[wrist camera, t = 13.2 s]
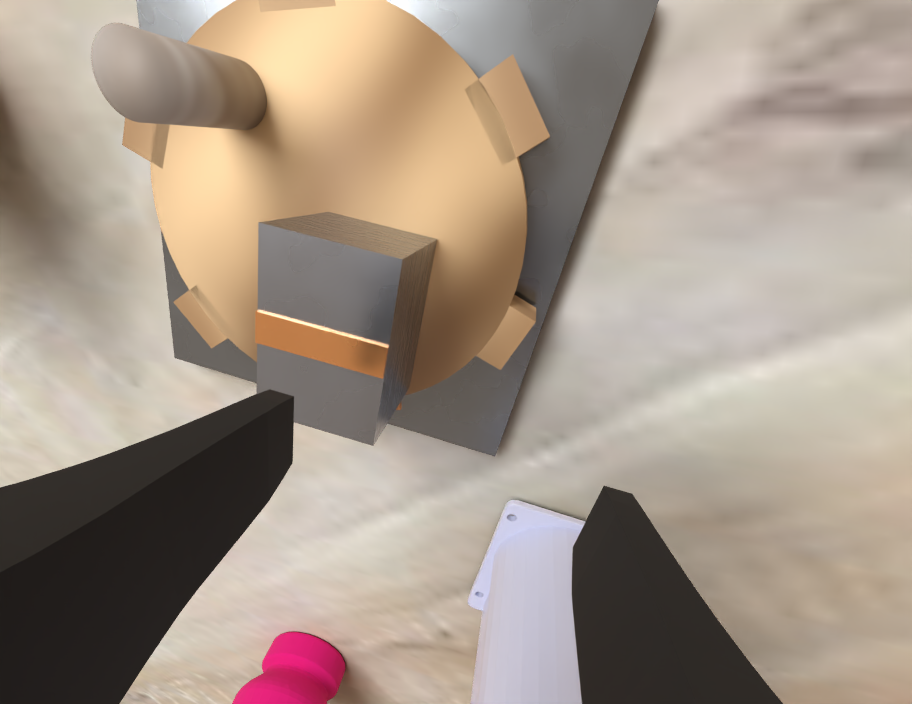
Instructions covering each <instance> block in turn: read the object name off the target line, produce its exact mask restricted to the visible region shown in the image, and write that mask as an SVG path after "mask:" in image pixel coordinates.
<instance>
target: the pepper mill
mask: <svg viewBox="0 0 912 704" xmlns="http://www.w3.org/2000/svg"><path fill="white" fill-rule="evenodd" d="M262 669H263V672H264V673H263V674H261V675H259V676H258V677H256V678H254V679H252V680H251V681H249V682H248V683H247V684H245V685H244V686H243V687H242V688H241V689H240V690H239V692H238V693H237V695H236V697H235V699H234V701H233V703H232V704H327V701H328V700H330V699H331V698H333V697H334V696H335V695H336V693H337V691H338V688H339V686H340V683H341V680H342V678H343V675H344V672H345V662H344V660H343V658H342V656H341V655H340V653H339V652H338V651H337V650H336V649H335V648H334V647H332V646H331V645H330V644H328V643H327V642H325V641H323V640H321V639H320V638H317V637H315V636H312V635H309V634H305V633H300V632H287V633H283V634H280V635H279V636H278V637H276V638H275V640H274V641H273V643H272V645H271V647H270V649H269V650H268V652H267V654H266V656H265V658H264V660H263V662H262Z"/></svg>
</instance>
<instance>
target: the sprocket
mask: <svg viewBox="0 0 912 704" xmlns="http://www.w3.org/2000/svg"><path fill="white" fill-rule="evenodd" d="M91 61H92V68H93V72H94V76H95V79H96V81H97V84H98V86H99V88H100V90H101V92H102V94H103V95H104V97H105V98H106V100H107V101H108V102H109V103H110V105H111V106H112V107H113V108H114V109H115V110H116V111H117V112H119V113H120V114H121V115H123V116H124V117H125V125H124V134H123V143H122V145H123V146H125V147H127V148H128V149H130V150H132V151H133V152H135V153H137V154H138V155H140V156H142V157H143V158H145V159H147V160H149V161H150V162H151V182H152V188H153V195H154V202H155V207H156V211H157V215H158V219H159V223H160V226H161V230H162V233H163V236H164V238H165V241H166V244H167V247H168V249H169V252H170V254H171V257H172V259H173V261H174V263H175V265H176V267H177V269H178V271H179V273H180V275H181V277H182V279H183V280H184V282H185V284H186V285H187V287H188V289H189V291H187V292H186V293H185V294H183V295H182V296H181V297H179V298H178V299H176V300H175V301H174V304H175V305H176V306H177V307H178V308H179V310H180V311H181V312H182V313H183V315H184V316H185V317H186V318H187V319H188V321H189V322H190V323H191V324H192V325H193V327H194V328H195V329H196V330H197V332H198V333H199V334H200V335H201V336H202V338H203V339H204V340H205V341H206V342H207V344H208V345H209V346H210V347H211V348H213V347H215V346H216V345H218V344H220V343H221V342H223V341H225V340H226V339H229V340H230V341H232V342H233V343H234V344H235V345H236V346H237V347H238V348H239V349H240V350H242V351H243V352H244V353H245V354H247V355H248V356H249V357H251V358H252V359H253V360H254V361H256V362H257V343H255V311H257V310H258V222H264V221H271V220H277V219H284V218H290V217H297V216H304V215H310V214H317V213H324V212H332V213H336V214H340V215H344V216H347V217H351V218H355V219H359V220H363V221H367V222H371V223H375V224H379V225H383V226H387V227H391V228H395V229H399V230H403V231H407V232H411V233H415V234H419V235H423V236H427V237H431V238H435V239H437V244H436V249H435V255H434V260H433V265H432V271H431V276H430V281H429V286H428V292H427V297H426V302H425V308H424V313H423V318H422V324H421V329H420V334H419V339H418V345H417V350H416V355H415V361H414V366H413V371H412V377H411V382H410V387H409V389H408V391H407V392H406V394H405V395H408V394H412V393H415V392H418V391H421V390H424V389H426V388H429V387H431V386H433V385H435V384H437V383H439V382H441V381H443V380H445V379H447V378H449V377H450V376H451V375H453V374H454V373H456V372H457V371H458V370H460V369H461V368H463V367H464V366H465V365H466V364H467V363H468V362H470V361H471V360H472V359H473V358H474V357H475V356H477V357H479V358H481V359H482V360H484V361H486V362H487V363H489V364H491V365H493V366H494V367H496V368H498V369H499V370H501V369H502V367H503V366H504V365H505V363H506V362H507V361H508V359H509V358H510V356H511V355H512V354H513V352H514V351H515V350H516V348H517V347H518V346H519V344H520V343H521V341H522V340H523V339H524V337H525V336H526V335H527V333H528V332H529V331H530V329H531V328H532V326H533V325H534V324H535V322H536V307H534V306H532V305H531V304H529V303H527V302H526V301H524V300H522V299H521V298H519V297H518V296H516V295H514V294H515V291H516V288H517V284H518V281H519V277H520V273H521V269H522V265H523V259H524V253H525V245H526V237H527V198H526V190H525V182H524V175H523V171H522V168H521V164H520V160H519V156H521V155H523V154H524V153H526V152H527V151H529V150H531V149H532V148H534V147H535V146H537V145H539V144H540V143H542V142H543V141H545V140H547V139H548V138H550V135H549V133H548V131H547V128H546V126H545V124H544V122H543V120H542V117H541V115H540V113H539V111H538V108H537V106H536V104H535V102H534V100H533V97H532V95H531V93H530V91H529V88H528V86H527V84H526V82H525V80H524V77H523V75H522V73H521V71H520V69H519V66H518V64H517V62H516V60H515V57H514V55H513V54H512V55H511V56H509V57H508V58H507V59H505V60H504V61H503V62H501V63H500V64H498V65H497V66H496V67H494V68H493V69H492V70H490V71H489V72H487V73H486V74H485V75H483V76H482V77H481V78H478V77H477V75H476V74H475V73H474V71H473V70H472V69H471V68H470V66H469V65H468V64H467V63H466V62H465V61H464V59H463V58H462V57H461V56H460V55H459V54H458V53H457V52H456V51H455V50H454V49H453V48H452V47H451V46H450V45H449V44H448V43H447V42H446V41H445V40H444V39H443V38H442V37H441V36H440V35H438V34H437V33H436V32H435V31H433V30H432V29H431V28H429V27H428V26H427V25H425V24H424V23H423V22H421V21H420V20H419V19H418V18H416V17H415V16H414V15H412V14H410V13H408V12H406V11H405V10H403V9H401V8H399V7H397V6H396V5H394V4H392V3H390V2H388V1H387V0H236V1H234V2H232V3H231V4H229V5H228V6H226V7H224V8H223V9H221V10H220V11H218V12H216V13H215V14H214V15H213V16H212V17H211V18H210V19H209V20H207V21H206V22H205V23H204V24H203V25H202V26H201V27H200V28H199V29H198V30H197V31H196V32H195V33H194V34H193V36H192V37H191V38H190V39H189V41H188V42H187V43H185V42H181V41H178V40H175V39H172V38H168V37H165V36H162V35H159V34H155V33H152V32H149V31H145V30H142V29H139V28H136V27H132V26H129V25H126V24H122V23H111V24H108V25H105V26H104V27H102V28H101V29H100V30H99V31H98V33H97V34H96V36H95V38H94V40H93V44H92V50H91ZM401 408H402V405H401V402H400V404H399V405H398V407H397V409H396V410H401Z"/></svg>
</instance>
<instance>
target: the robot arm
mask: <svg viewBox="0 0 912 704" xmlns="http://www.w3.org/2000/svg"><path fill="white" fill-rule="evenodd" d="M293 423H294V396H291V395H288V394H284V393H281V392H278V391H274V390H271V389H269V390H266V391H264V392H261V393H258V394H256V395H253V396H251V397H249V398H246V399H244V400H241V401H239V402H237V403H234V404H232V405H230V406H227V407H225V408H223V409H220V410H218V411H216V412H213V413H211V414H209V415H206V416H204V417H202V418H199V419H197V420H194V421H192V422H190V423H187V424H185V425H182V426H180V427H178V428H175V429H173V430H170V431H168V432H165V433H163V434H160V435H157V436H155V437H152V438H149V439H147V440H144V441H141V442H139V443H136V444H134V445H131V446H128V447H126V448H123V449H120V450H118V451H115V452H112V453H110V454H107V455H104V456H101V457H98V458H95V459H93V460H90V461H87V462H84V463H81V464H78V465H75V466H72V467H68V468H65V469H62V470H59V471H55V472H52V473H49V474H46V475H43V476H39V477H36V478H33V479H29V480H26V481H23V482H19V483H16V484H12V485H8V486H5V487H1V488H0V704H119V703H120V702H121V700H122V699H123V697H124V696H125V694H126V693H127V691H128V689H129V688H130V686H131V685H132V683H133V682H134V680H135V679H136V677H137V676H138V674H139V673H140V671H141V670H142V668H143V666H144V665H145V663H146V662H147V660H148V659H149V658H150V656H151V655H152V653H153V652H154V650H155V649H156V647H157V646H158V644H159V643H160V641H161V640H162V638H163V637H164V635H165V634H166V632H167V631H168V630H169V628H170V627H171V625H172V624H173V622H174V621H175V619H176V618H177V616H178V615H179V613H180V612H181V611H182V609H183V608H184V607H185V605H186V604H187V603H188V601H189V600H190V599H191V597H192V596H193V595H194V593H195V592H196V591H197V590H198V588H199V587H200V586H201V585H202V583H203V582H204V581H205V580H206V578H207V577H208V576H209V575H210V574H211V572H212V571H213V570H214V569H215V567H216V566H217V565H218V564H219V562H220V561H221V560H222V559H223V557H224V556H225V555H226V554H227V553H228V551H229V550H230V549H231V548H232V546H233V545H234V544H235V543H236V541H237V540H238V539H239V538H240V536H241V535H242V534H243V533H244V532H245V530H246V529H247V528H248V527H249V525H250V524H251V523H252V522H253V520H254V519H255V518H256V517H257V515H258V514H259V513H260V512H261V510H262V509H263V508H264V506H265V505H266V504H267V503H268V501H269V500H270V498H271V497H272V495H273V494H274V492H275V490H276V489H277V487H278V486H279V484H280V483H281V481H282V479H283V478H284V476H285V474H286V473H287V471H288V469H289V468H290V466H291V464H292V461H293ZM510 514H513V515H515V516H511V515H510ZM468 604H469V605H470V606H471V607H472V608H475V609H478V610H481V611H482V618H481V625H480V633H479V641H478V649H477V656H476V664H475V672H474V680H473V688H472V695H471V703H470V704H783V703H782V702H781V701H780V699H779V698H778V697H777V696H776V695H775V693H774V692H773V691H772V690H771V689H770V687H769V686H768V685H767V684H766V682H765V681H764V680H763V679H762V677H761V676H760V675H759V674H758V672H757V671H756V670H755V669H754V667H753V666H752V665H751V664H750V662H749V661H748V660H747V658H746V657H745V656H744V654H743V653H742V652H741V650H740V649H739V648H738V646H737V645H736V644H735V642H734V641H733V640H732V638H731V637H730V636H729V634H728V633H727V632H726V630H725V629H724V628H723V626H722V625H721V624H720V622H719V621H718V620H717V618H716V617H715V615H714V614H713V613H712V611H711V610H710V609H709V607H708V606H707V604H706V603H705V602H704V600H703V599H702V597H701V596H700V594H699V593H698V592H697V590H696V589H695V587H694V586H693V584H692V583H691V581H690V580H689V579H688V577H687V576H686V574H685V573H684V571H683V570H682V568H681V567H680V565H679V564H678V562H677V561H676V559H675V558H674V556H673V555H672V553H671V552H670V550H669V549H668V547H667V546H666V544H665V543H664V541H663V540H662V538H661V537H660V535H659V534H658V532H657V531H656V529H655V528H654V526H653V524H652V523H651V521H650V520H649V518H648V517H647V515H646V514H645V512H644V511H643V509H642V508H641V506H640V505H639V503H638V502H637V500H636V499H635V497H634V496H633V495H632V494H631V493H627V492H624V491H620V490H617V489H613V488H610V487H607V486H604V487H603V489H602V491H601V493H600V495H599V497H598V499H597V501H596V502H595V504H594V506H593V508H592V510H591V512H590V514H589V516H588V518H587V520H586V521H583V520H579V519H576V518H573V517H570V516H567V515H563V514H560V513H557V512H554V511H551V510H547V509H544V508H541V507H538V506H535V505H531V504H528V503H525V502H522V501H519V500H510V501H508V502H507V503H506V505H505V507H504V510H503V512H502V515H501V517H500V520H499V522H498V525H497V527H496V530H495V532H494V535H493V537H492V540H491V542H490V545H489V547H488V549H487V552H486V554H485V557H484V559H483V562H482V564H481V567H480V569H479V572H478V574H477V577H476V579H475V582H474V584H473V587H472V589H471V592H470V594H469V597H468Z"/></svg>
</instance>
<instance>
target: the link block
mask: <svg viewBox="0 0 912 704" xmlns="http://www.w3.org/2000/svg"><path fill="white" fill-rule="evenodd" d="M436 244H437V239H435V238H431V237H427V236H423V235H419V234H415V233H411V232H407V231H403V230H399V229H395V228H391V227H387V226H383V225H379V224H375V223H371V222H367V221H363V220H359V219H355V218H351V217H347V216H344V215H340V214H336V213H332V212H324V213H317V214H310V215H304V216H297V217H290V218H284V219H277V220H271V221H264V222H258V310H257V311H255V343H257V394H258V393H261V392H264V391H266V390H269V389H271V390H274V391H278V392H281V393H284V394H288V395H291V396H294V422H295V423H299V424H302V425H305V426H309V427H312V428H315V429H319V430H322V431H325V432H329V433H332V434H336V435H339V436H342V437H346V438H349V439H352V440H356V441H359V442H362V443H366V444H369V445H372V446H373V445H374V444H375V442H376V441H377V439H378V437H379V436H380V434H381V433H382V431H383V429H384V428H385V426H386V425H387V423H388V421H389V420H390V418H391V417H392V415H393V413H394V412H395V410H396V409H397V407H398V405H399V404H400V402H401V401H402V399H403V397H404V396H405V394H406V392H407V391H408V389H409V387H410V382H411V377H412V371H413V366H414V361H415V355H416V350H417V345H418V339H419V334H420V329H421V324H422V318H423V313H424V308H425V302H426V297H427V292H428V286H429V281H430V276H431V271H432V265H433V260H434V255H435V249H436Z"/></svg>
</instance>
